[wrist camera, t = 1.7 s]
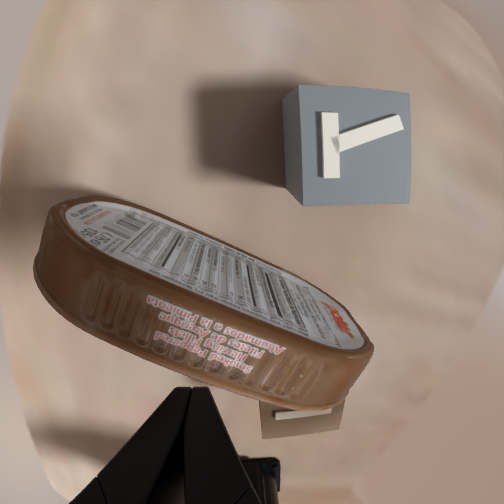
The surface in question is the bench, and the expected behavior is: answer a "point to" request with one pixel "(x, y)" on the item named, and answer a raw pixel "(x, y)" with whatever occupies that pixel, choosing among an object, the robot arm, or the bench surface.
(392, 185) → the slate number block
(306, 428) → the walnut number block
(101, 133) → the bench surface
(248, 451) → the bench surface
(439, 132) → the bench surface
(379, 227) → the bench surface
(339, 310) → the tin
